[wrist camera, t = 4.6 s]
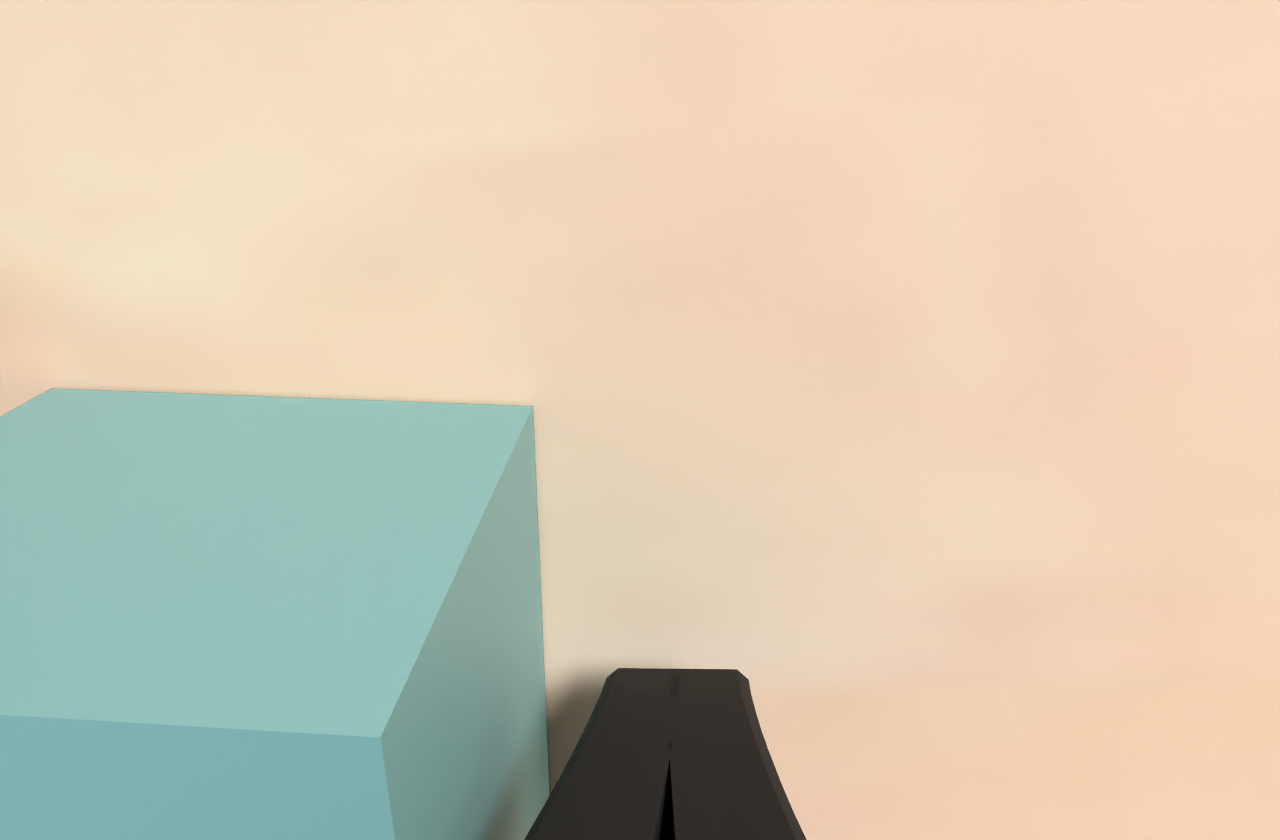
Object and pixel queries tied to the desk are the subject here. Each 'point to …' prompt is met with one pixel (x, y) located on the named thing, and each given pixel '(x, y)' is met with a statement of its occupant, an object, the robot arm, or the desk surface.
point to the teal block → (269, 619)
